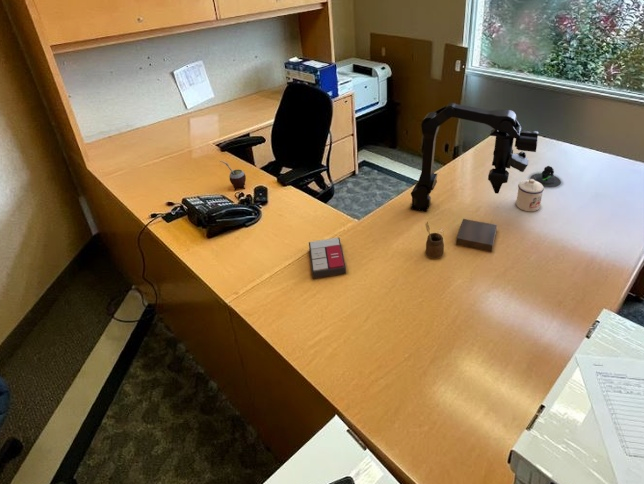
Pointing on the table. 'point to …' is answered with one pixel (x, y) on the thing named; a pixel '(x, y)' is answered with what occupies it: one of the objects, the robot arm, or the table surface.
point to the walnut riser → (476, 235)
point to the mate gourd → (237, 178)
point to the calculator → (327, 258)
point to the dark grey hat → (547, 178)
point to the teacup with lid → (529, 195)
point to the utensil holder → (434, 244)
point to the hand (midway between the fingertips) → (498, 186)
